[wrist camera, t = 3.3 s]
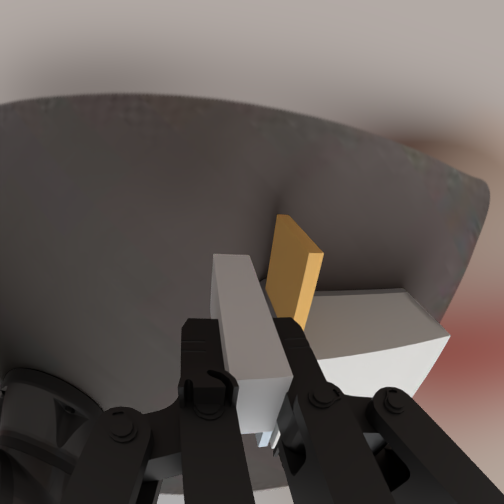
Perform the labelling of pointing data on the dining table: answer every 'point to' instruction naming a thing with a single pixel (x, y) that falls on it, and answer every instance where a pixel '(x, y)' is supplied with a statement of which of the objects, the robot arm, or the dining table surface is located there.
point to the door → (290, 278)
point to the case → (372, 341)
